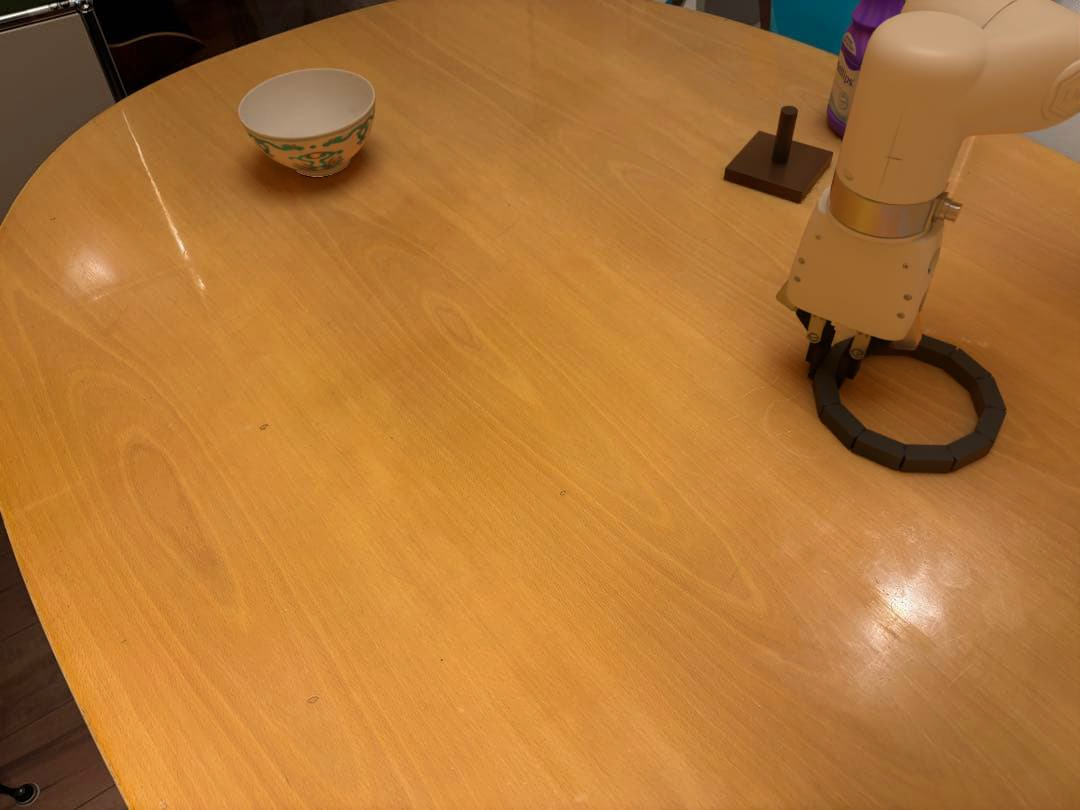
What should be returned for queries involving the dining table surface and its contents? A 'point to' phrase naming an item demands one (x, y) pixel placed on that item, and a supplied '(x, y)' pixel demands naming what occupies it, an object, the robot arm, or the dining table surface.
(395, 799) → the dining table surface
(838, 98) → the bottle
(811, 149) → the brown peg stand
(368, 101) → the chinaware
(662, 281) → the dining table surface
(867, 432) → the ring
